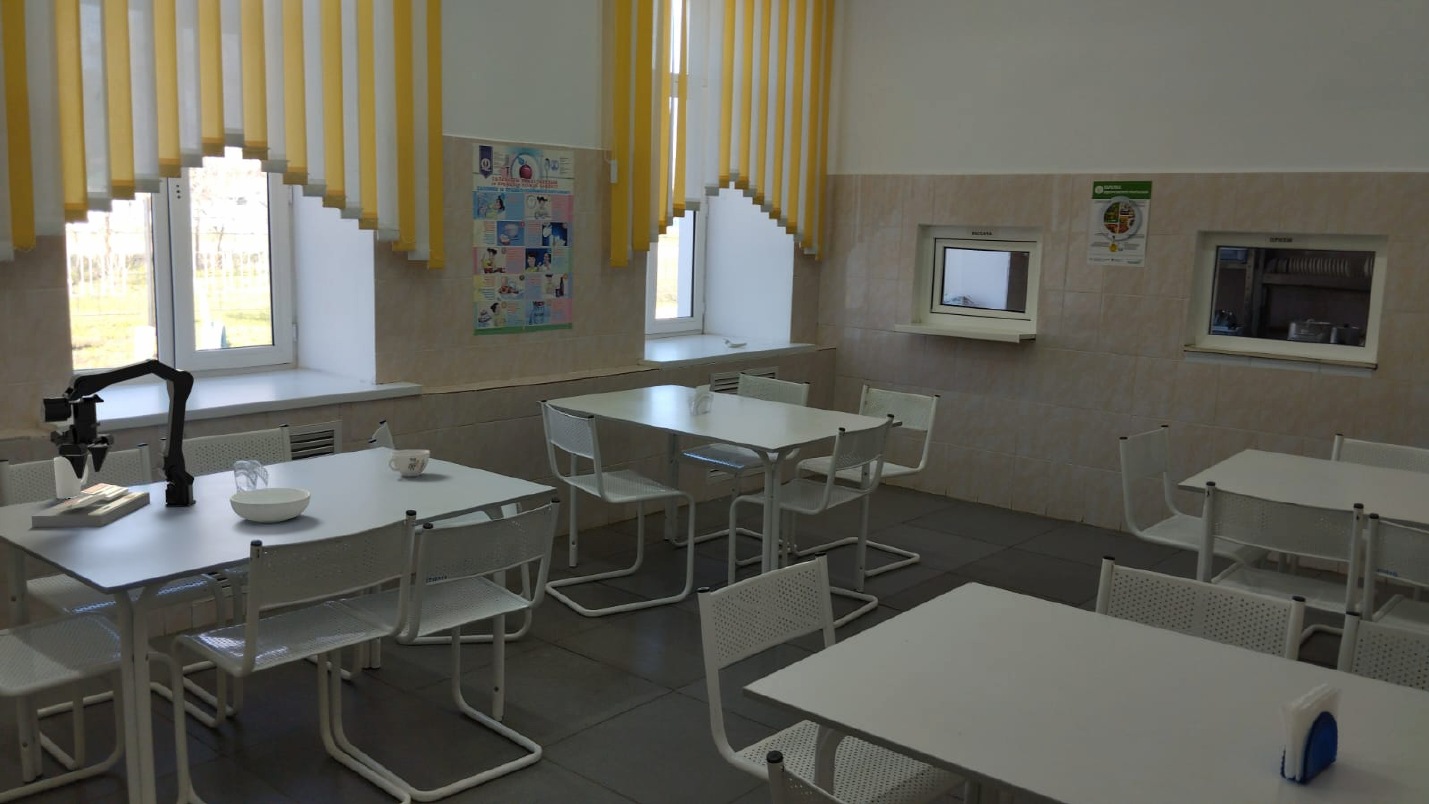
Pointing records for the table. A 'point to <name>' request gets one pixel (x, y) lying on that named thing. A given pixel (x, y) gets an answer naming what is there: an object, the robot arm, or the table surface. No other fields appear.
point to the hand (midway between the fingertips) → (88, 475)
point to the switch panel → (91, 512)
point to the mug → (67, 478)
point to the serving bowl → (270, 504)
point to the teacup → (409, 461)
